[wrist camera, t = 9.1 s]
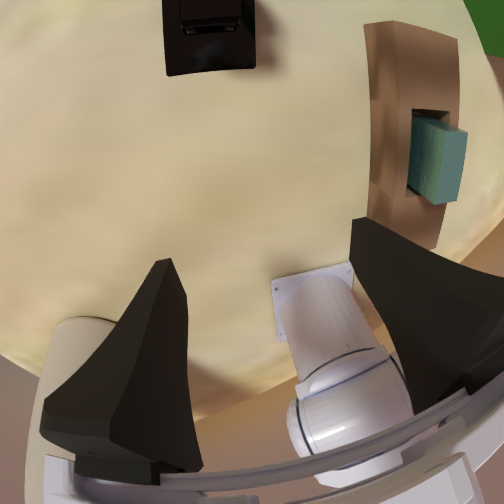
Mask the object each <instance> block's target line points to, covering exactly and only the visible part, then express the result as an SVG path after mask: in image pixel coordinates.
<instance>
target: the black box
mask: <svg viewBox="0 0 504 504" xmlns="http://www.w3.org/2000/svg"><path fill="white" fill-rule="evenodd" d="M162 16H163V35H164V50H165V63H166V74H167V76H169V77H171V76H177V75H184V74H191V73H199V72H208V71H219V70H233V69H254V68H255V67H256V44H255V3H254V0H162Z"/></svg>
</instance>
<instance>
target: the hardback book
mask: <svg viewBox="0 0 504 504" xmlns="http://www.w3.org/2000/svg"><path fill="white" fill-rule="evenodd" d="M463 1H464V3H465V5H466V8H467V10H468V12H469V14H470V16H471V18H472V21H473V23H474V26H475V28H476V30H477V33H478V36H479V38H480V41H481V44H482V46H483V49H484V52H485V54H489V55H494V56H498V57H502V58H504V0H463Z"/></svg>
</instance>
